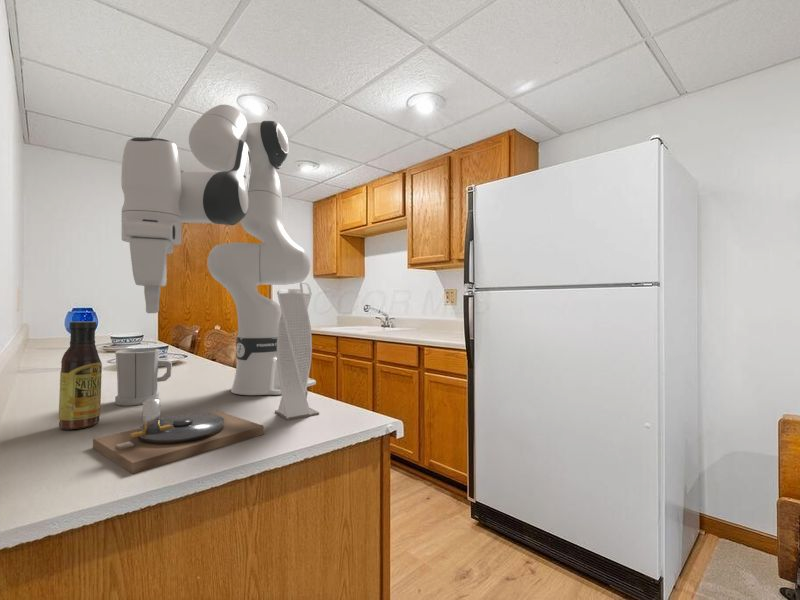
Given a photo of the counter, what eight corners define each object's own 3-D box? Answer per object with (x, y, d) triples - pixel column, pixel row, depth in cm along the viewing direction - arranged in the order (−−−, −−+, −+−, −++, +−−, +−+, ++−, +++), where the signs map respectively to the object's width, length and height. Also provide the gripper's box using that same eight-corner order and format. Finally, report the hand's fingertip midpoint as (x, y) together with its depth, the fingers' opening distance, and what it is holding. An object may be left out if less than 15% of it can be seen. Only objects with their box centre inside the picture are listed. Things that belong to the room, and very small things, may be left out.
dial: (199, 414, 79) (200, 382, 79) (239, 427, 71) (239, 392, 71) (114, 434, 67) (115, 397, 67) (151, 452, 60) (151, 410, 60)
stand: (216, 418, 83) (217, 409, 83) (263, 434, 73) (263, 424, 73) (92, 447, 66) (92, 436, 66) (132, 473, 57) (132, 460, 57)
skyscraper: (322, 416, 85) (322, 281, 85) (284, 422, 80) (285, 280, 80) (305, 407, 92) (305, 282, 92) (269, 413, 87) (270, 281, 87)
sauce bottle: (77, 432, 74) (77, 322, 74) (49, 430, 75) (49, 322, 75) (109, 421, 80) (110, 320, 80) (83, 419, 82) (84, 320, 81)
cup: (152, 394, 104) (152, 346, 104) (174, 398, 99) (175, 348, 99) (106, 403, 94) (106, 351, 94) (129, 408, 90) (129, 354, 90)
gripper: (136, 238, 78) (136, 310, 78) (122, 222, 60) (123, 316, 60) (174, 240, 81) (174, 310, 81) (172, 226, 63) (172, 315, 63)
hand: (152, 312), depth 70 cm, fingers closed
